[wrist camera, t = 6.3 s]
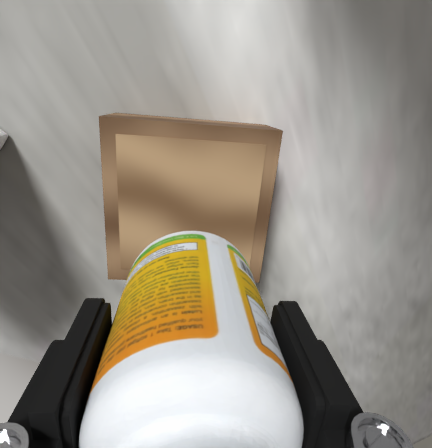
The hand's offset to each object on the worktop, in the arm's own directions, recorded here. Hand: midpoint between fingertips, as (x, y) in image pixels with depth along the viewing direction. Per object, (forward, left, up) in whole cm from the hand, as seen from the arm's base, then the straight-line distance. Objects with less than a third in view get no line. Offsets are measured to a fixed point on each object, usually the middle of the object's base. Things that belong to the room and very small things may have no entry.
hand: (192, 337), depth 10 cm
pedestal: (0, 0, -18) cm, 18 cm away
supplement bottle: (0, 0, -4) cm, 4 cm away
